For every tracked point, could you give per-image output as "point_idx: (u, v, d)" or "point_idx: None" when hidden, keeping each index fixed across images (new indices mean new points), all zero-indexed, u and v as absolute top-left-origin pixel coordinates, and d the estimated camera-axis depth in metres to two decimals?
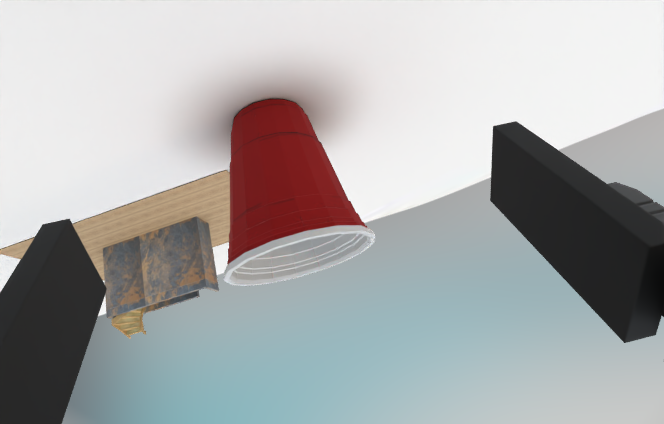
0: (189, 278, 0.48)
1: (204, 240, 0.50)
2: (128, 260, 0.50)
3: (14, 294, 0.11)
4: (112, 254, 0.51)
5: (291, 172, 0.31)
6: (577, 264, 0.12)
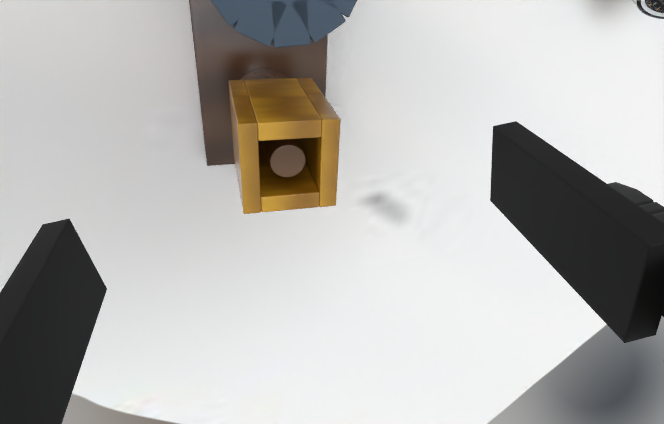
0: None
1: None
2: None
3: (14, 294, 0.11)
4: None
5: None
6: (577, 264, 0.12)
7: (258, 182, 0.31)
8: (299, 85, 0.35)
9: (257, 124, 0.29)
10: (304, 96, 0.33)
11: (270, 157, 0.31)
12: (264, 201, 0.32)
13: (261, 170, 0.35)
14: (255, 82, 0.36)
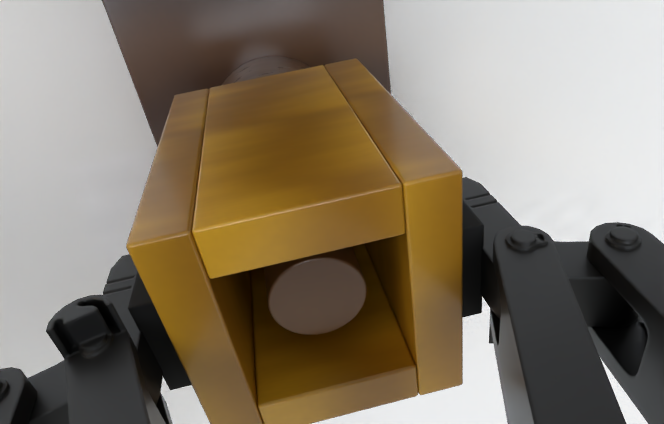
0: None
1: None
2: None
3: None
4: None
5: None
6: None
7: (240, 377, 0.11)
8: (330, 80, 0.15)
9: (193, 234, 0.09)
10: (342, 107, 0.13)
11: (267, 296, 0.11)
12: (268, 414, 0.12)
13: (266, 295, 0.15)
14: (230, 91, 0.15)
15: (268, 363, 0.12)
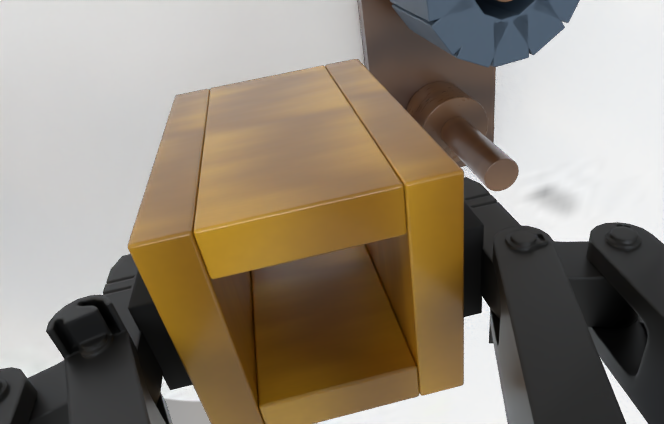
0: None
1: None
2: None
3: None
4: None
5: None
6: None
7: (241, 378, 0.11)
8: (331, 80, 0.15)
9: (195, 236, 0.09)
10: (343, 107, 0.13)
11: (484, 174, 0.32)
12: (269, 414, 0.12)
13: (267, 295, 0.15)
14: (231, 91, 0.15)
15: (269, 363, 0.12)
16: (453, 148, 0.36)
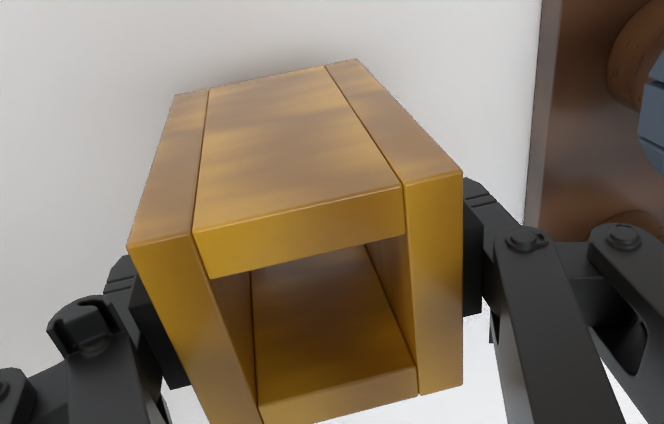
0: None
1: None
2: None
3: None
4: None
5: None
6: None
7: (240, 378, 0.11)
8: (330, 80, 0.15)
9: (193, 235, 0.09)
10: (342, 107, 0.13)
11: None
12: (267, 415, 0.12)
13: (266, 295, 0.15)
14: (230, 91, 0.15)
15: (268, 364, 0.12)
16: None
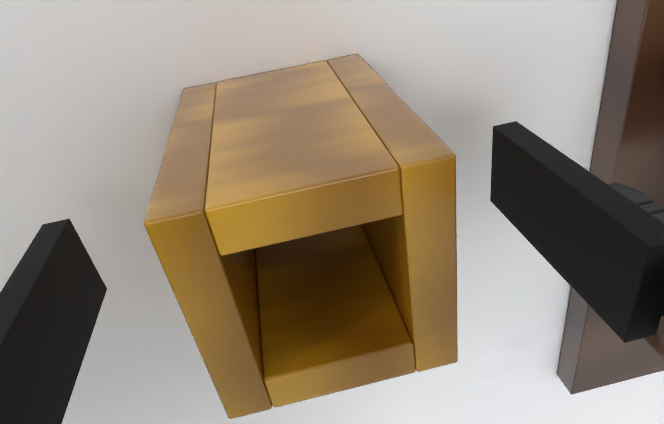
0: None
1: None
2: None
3: (14, 294, 0.11)
4: None
5: None
6: (577, 264, 0.12)
7: (247, 351, 0.11)
8: (332, 74, 0.16)
9: (206, 213, 0.09)
10: (344, 99, 0.13)
11: None
12: (273, 388, 0.12)
13: (271, 279, 0.15)
14: (236, 84, 0.16)
15: (273, 341, 0.13)
16: None
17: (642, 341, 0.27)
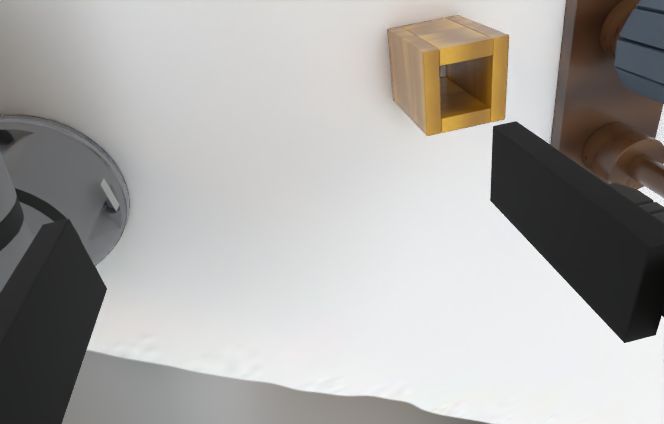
0: None
1: None
2: None
3: (14, 294, 0.11)
4: None
5: None
6: (577, 264, 0.12)
7: (439, 105, 0.36)
8: (452, 21, 0.40)
9: (439, 51, 0.33)
10: (463, 27, 0.37)
11: None
12: (443, 122, 0.36)
13: None
14: (412, 26, 0.40)
15: None
16: (646, 182, 0.44)
17: None
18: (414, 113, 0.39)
